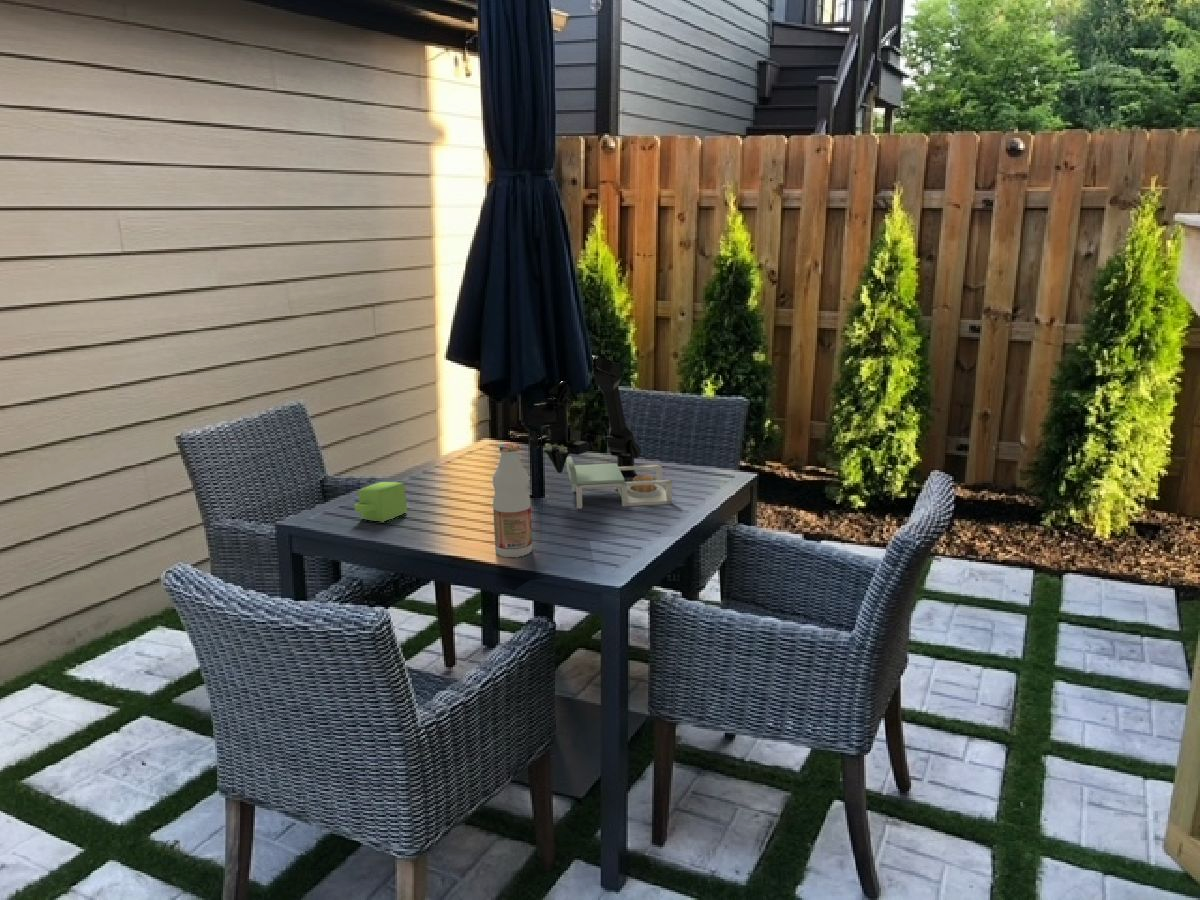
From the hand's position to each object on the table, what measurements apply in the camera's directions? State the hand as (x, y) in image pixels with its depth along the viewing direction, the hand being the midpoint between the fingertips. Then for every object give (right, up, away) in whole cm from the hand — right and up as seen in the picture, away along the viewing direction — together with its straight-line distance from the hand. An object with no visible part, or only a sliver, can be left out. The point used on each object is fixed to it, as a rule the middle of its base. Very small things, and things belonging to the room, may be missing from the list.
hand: (559, 472), depth 284 cm
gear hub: (+25, -6, +4) cm, 26 cm away
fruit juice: (-10, -19, -42) cm, 47 cm away
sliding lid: (+10, -1, +1) cm, 10 cm away
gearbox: (-50, -12, -10) cm, 53 cm away
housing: (+18, -7, +4) cm, 20 cm away
